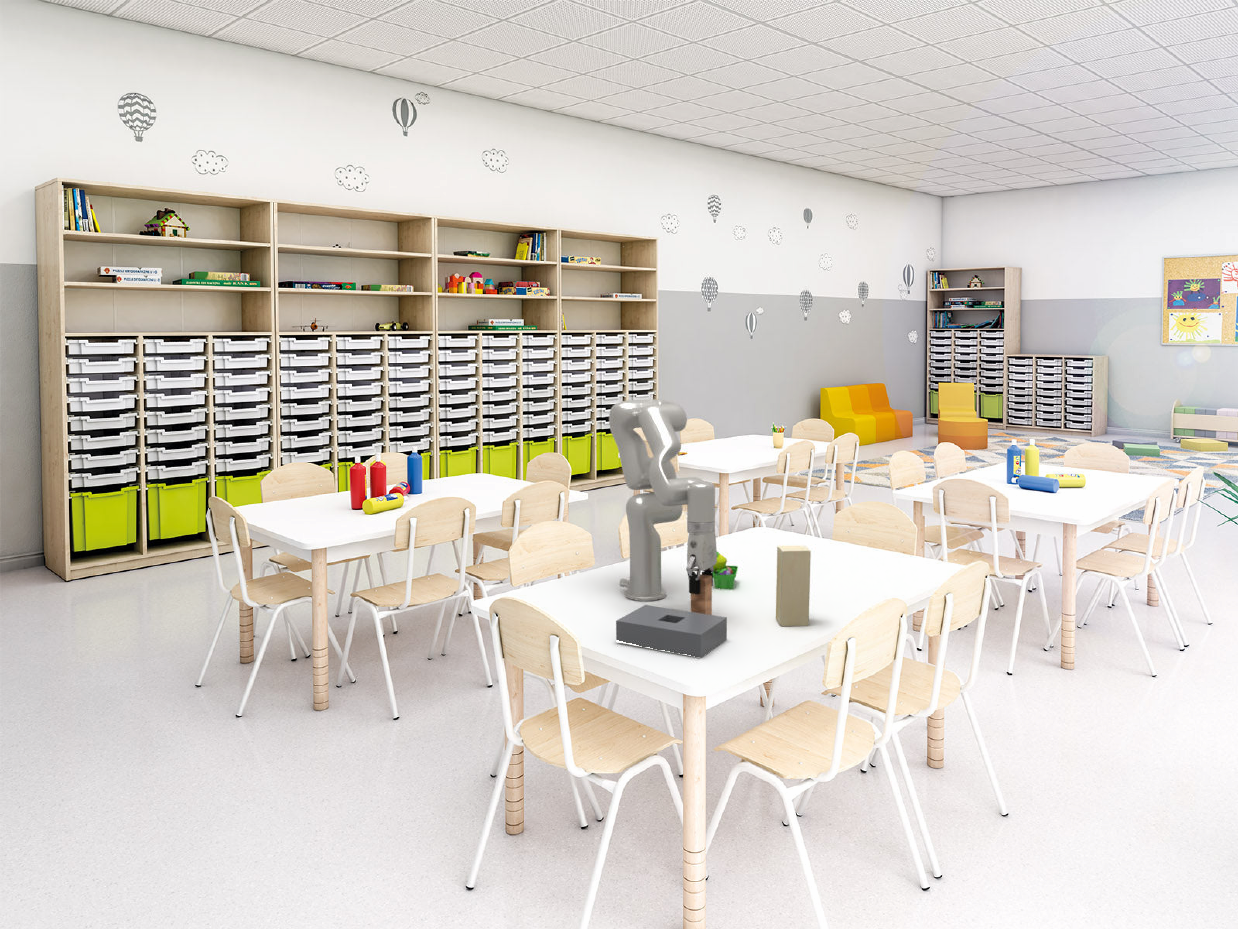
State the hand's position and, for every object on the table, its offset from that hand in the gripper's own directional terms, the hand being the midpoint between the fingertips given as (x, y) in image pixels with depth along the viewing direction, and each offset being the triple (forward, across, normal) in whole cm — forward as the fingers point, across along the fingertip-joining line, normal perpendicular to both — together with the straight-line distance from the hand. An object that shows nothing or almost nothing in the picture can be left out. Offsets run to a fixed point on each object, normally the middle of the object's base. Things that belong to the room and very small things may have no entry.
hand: (701, 589), depth 253 cm
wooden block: (+9, 0, 0) cm, 9 cm away
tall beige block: (+10, +12, -22) cm, 27 cm away
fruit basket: (+10, +38, +10) cm, 40 cm away
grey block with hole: (+9, -18, 0) cm, 20 cm away
